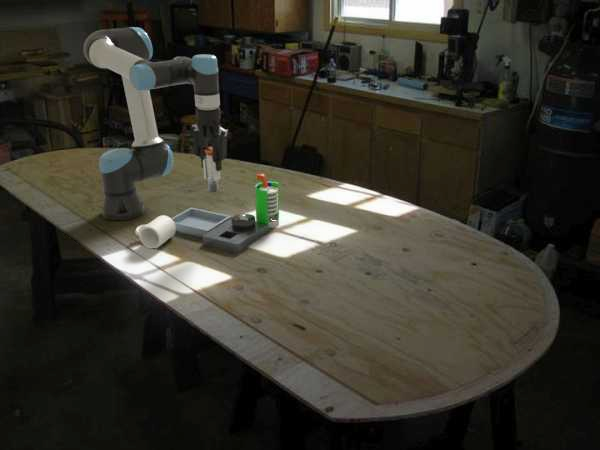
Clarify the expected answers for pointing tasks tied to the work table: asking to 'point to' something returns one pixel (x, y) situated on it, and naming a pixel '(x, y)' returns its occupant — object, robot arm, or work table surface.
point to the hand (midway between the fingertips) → (212, 178)
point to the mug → (156, 231)
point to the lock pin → (210, 170)
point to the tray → (198, 221)
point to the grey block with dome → (236, 233)
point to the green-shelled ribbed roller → (267, 201)
